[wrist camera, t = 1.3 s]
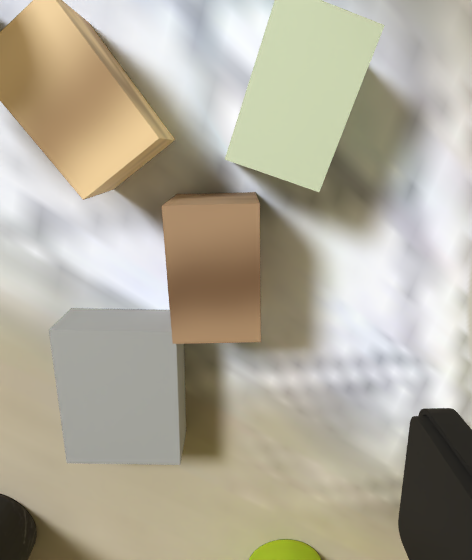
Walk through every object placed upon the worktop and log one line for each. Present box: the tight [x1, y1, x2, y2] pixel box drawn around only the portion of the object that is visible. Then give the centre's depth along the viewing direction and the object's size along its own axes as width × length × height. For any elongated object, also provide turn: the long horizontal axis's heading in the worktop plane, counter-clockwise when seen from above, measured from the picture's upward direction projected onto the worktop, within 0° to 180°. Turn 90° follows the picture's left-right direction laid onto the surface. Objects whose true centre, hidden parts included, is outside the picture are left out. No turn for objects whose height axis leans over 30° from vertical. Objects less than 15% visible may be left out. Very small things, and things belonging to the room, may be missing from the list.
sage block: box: [225, 0, 384, 192], centre depth 20 cm, size 7×4×5 cm, turn 162°
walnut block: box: [162, 192, 261, 344], centre depth 22 cm, size 7×4×5 cm, turn 1°
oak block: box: [0, 0, 175, 200], centre depth 20 cm, size 7×4×5 cm, turn 36°
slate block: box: [49, 308, 186, 465], centre depth 26 cm, size 9×7×4 cm
